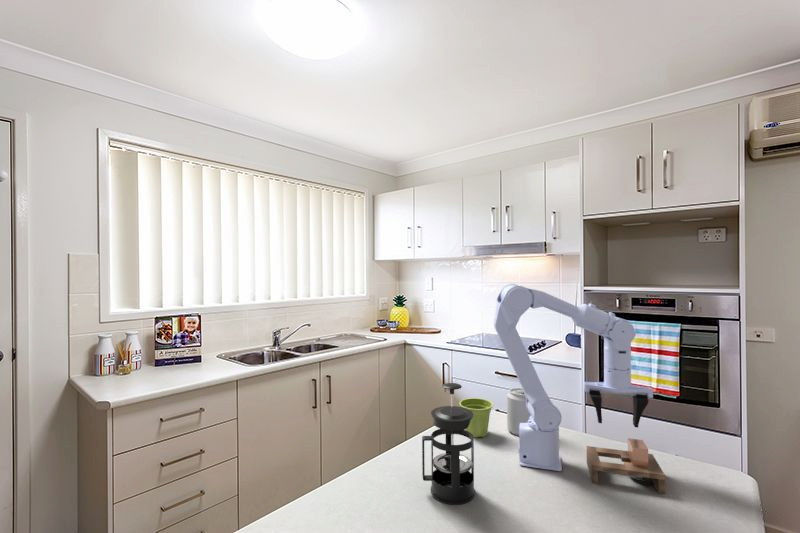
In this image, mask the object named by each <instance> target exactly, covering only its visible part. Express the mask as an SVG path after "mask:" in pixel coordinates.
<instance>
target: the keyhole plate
mask: <svg viewBox="0 0 800 533" xmlns="http://www.w3.org/2000/svg"><path fill="white" fill-rule="evenodd" d="M600 457H604V458H610V459H611V458H612V459H619V460H621V462H623V463H617V462H610V461H609V462H608V461H601V459H600ZM586 465H587V470H588V473H589V477H590V481H591V484H595V485H598V484H599V471H600V472H606V473H613V474H620V475H626V476H629V475H633V476H640V477H647V478H648V479H650V480H651V482H652V484H653V485H654V487H655V489H656V491H657V493H658V494H661V495H666V475H665V473H664V471H663V470H662V467H661V466H660V464H659V462H658V461H657V460H656V457H655V456H654V454H653V453H648V468H646V467H639V466H633V465H632V463H631V461H630V459H629V457H628V450H621V449H614V448H607V447H599V446H589V445H586Z"/></svg>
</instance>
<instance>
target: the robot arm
mask: <svg viewBox="0 0 800 533" xmlns="http://www.w3.org/2000/svg"><path fill="white" fill-rule="evenodd" d="M495 304H496V306H495V311H494V312H495V313H494V319H493V326H494V329H495V331H496V333H497V336H498V338H499V340H500V342H501V344H502V345H501V346H502V347H503V348H504V352H505V354H506V355H507V358H508V359H509V362H510V364H511V366H512V369H513V371H514V372H515V375H516V377H517V380H518V382H519V385H520V386H521V388H523V391H524V394H525V397H526V407H527V410H528V412H529V413H530V414H531V416H530V417H529V420H528V423H520V428H519V436H518V438H519V439H518V440H519V444H518V445H517V446H518V449H517V450H518V451H517V453H518V454H519V455H518V456H519V466H522V467H530V468H535V469H542V470H550V471H554V472H555V471H556V472H562V471H563V469H562V460H561V455H560V425H561V423H562V419H563V418H562V413H561V411H560V409H559V408H558V407H557V406H555V404H554V403H553V401H552V400H551V399H550V397H549V395H548V393H547V392H546V390H545V388H544V387H543V384H542V381H541V379H540V377H539V376H538V373H537V370H536V369H535V367H534V364H533V362H532V360H531V358H530V356H529V354H528V352H527V349H526V346H524V342H523V340H522V338H521V336H520V334H519V332H518V330H517V325H518V323H519V321H520V319H521V317H522V316H523V315H524V314H525V313H526V312H527V311H528V310H529V308H531V309H534V310H535V309H538V308H544V309H548V310H551V311H552V312H553V311H554V312H556V313H559V314H562V315H564V316H567V317H569V318H571V319H572V323H573V324H574V325H575V326H576V327H578V328H581V329H584V330H586V331H589V332H591V333H594V334H595V335H598V336H602V337H603V381H583V391H584V392H586V393H589V397H590V398H591V400H592V403H593V405H594V408H595V411H596V416H597V423H598V424H603V415H602V399H603V397H602V394H601V393H603V394H604V393H605V394H615V395H624V396H625V395H626V396H632V403H633V404H632V405H633V407H632V408H633V410H632V411H633V412H632V413H633V415H632V425H633V426H634V428H639V425H640V421H641V417H642V415H643V413H644V411H645V409H646V407H648V405H649V401H650V400H649V399H654V390H653V388H652V387H647V386H640V385H635V384H632V349H631V348H632V347H631V346H632V342H633V341H634V340H635V338H636V334H637V331H636V330H635V328H634V325H633V324H631V322H630V321H629V320H628V319H624V318H621V317H617V316H616V314H615V313H613V312H611V311H609V312H606V311H604V310H602V309H598V308H597V306H596V305H595V304H592V303H588V304H586V303H582V304H580V305H576V304H575V305H574V304H572V303H570V302H568V301H565V300H563V299H561V298H558V297H556V296H554V295H552V294H550V293H547V292H545V291H542V290H539V289H536V288H535V289H534V288H530V287H525V286H523V285H518V284H515V283H509V284H506V285H505V286H503V287H502V289H501V290H500V292H499V293H498V295H497V297H496V303H495Z"/></svg>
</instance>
